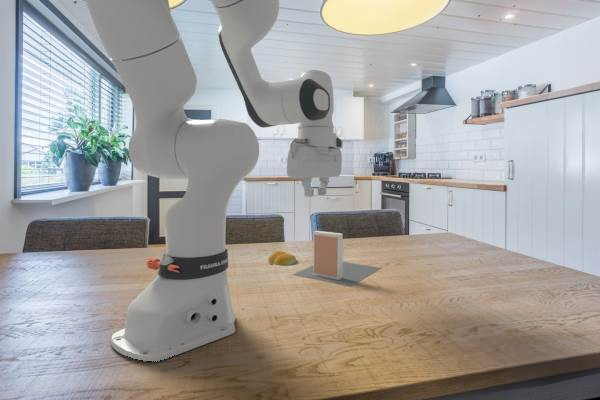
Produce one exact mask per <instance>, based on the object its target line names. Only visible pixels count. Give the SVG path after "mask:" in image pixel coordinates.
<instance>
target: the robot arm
mask: <svg viewBox="0 0 600 400" xmlns="http://www.w3.org/2000/svg"><path fill="white" fill-rule="evenodd" d="M85 1H86V5H87V8H88V11H89V14H90V16H91V19H92V21H93V24H94V27H95V29H96V32H97V33H98V37H99V38H100V41H101V43H102V45H103V47H104V49H105V51H106V53H107V55H108V58H110V60H111V63H112V64H113V67H114V69H115V70H116V72H117V75H118V76H119V78H120V80H121V82H122V84H123V86H124V88H125V91H126V92H127V94H128V96H129V99H130V101H131V103H132V106H133V107H132V108H133V109H134V110H133V111H134V114H135V124H136V125H135V129H134V131H133V132H132V133H131V136H130V139H129V140H128V141H129V142H128V156H129V159H130V162H131V163H132V165H133V167H134V168H135V169H136V170H137V172H139V173H141V174H142V175H146V176H149V177H154V178H158V179H162V180H163V179H164V180H187V188H186V191H185V193H184V195H183V197H182V198H181V199H179V200H178V201H176V202H175V203H172V205H171V206H169V207H168V209H167V210H166V212H165V214H164V215H165V216H164V226H165V227H164V230H165V232H164V233H165V252H164V254H163V257H162V259H160V258H155V257H149V258H148V259H147V260H146V262H145V265H146V267H147V269H150V270H154V271H156V270H157V274H158V275H157V276H156V277H155V278H154V279H153V280H152V281H151V282H150V283H149V284H148V285H147V286H146V287H145V288H144V289H143V291H141V292H140V293H139V294H138V296H136V297H135V298H134V299H133V300H132V301H131V302H130V303H129V305H128V307H127V311H126V315H125V322H124V328H122V329H120V330H118V331H116V332H114V333H113V334H112V335H111V338H110V344H111V347H112V348H113V349H114V350H115V351H116V352H117V353H119V354H121V355H123V356H124V357H127V356H128V357H127V358H129V357H131V358H130V359H132V358H133V359H132V360H135V359H138V360H137V361H139V360H143V361H142V362H146V361H152V363H158V362H161V361H160V360H162V361H164V359H165V360H167V359H170V358H172V356H173V357H175V356H177V355H180V354H182V353H186V352H188V351H190V350H194V349H197V348H199V347H201V346H204V345H208V344H209V343H211V342H215V341H217V340H220V339H223V338H225V337H228V336H230V335H233V334H235V332H236V328H235V321H236V319H237V318H236V315H235V311H234V309H233V305H232V301H231V300H232V299H231V295H230V294H231V293H230V289H229V283H228V272H227V269H228V268H229V252H228V248H226V221H227V213H228V211H227V210H228V207H229V206H228V205H229V203H230V201H231V197H232V195H233V193H234V191H235V189H236V188H237V186H238V185H239V183H241V181H242V180H244V178H245V177H247V176H249V175H250V173H252V171H253V170H254V169H255V167H256V165H257V163H258V160H259V156H260V144H259V140H258V137H257V135H256V133H255V131H254V130H253V129H252V127H251V126H250V125H249V124H248V123H246V122H241V121H236V120H232V119H226V118H215V119H195V120H192V119H189V117H188V116H187V114H186V113H185V109H184V106H185V105H186V104H187V103H188V102H190V100H191V99H192V97H193V96H194V95H195V92H196V89H197V83H198V80H197V75H196V73H195V70H194V66H193V65H192V62H191V59H190V56H189V54H188V51H187V50H186V47H185V45H184V42H183V39H182V37H181V36H182V35H180V32H179V29H178V27H177V25H176V22H175V20H174V18H173V16H172V14H171V12H172V11H171V7H170V4H169V3H170V2H169V0H85ZM210 3H212V6H213V8H215V11H216V13H217V16H218V18H219V22H220V26H219V29H218V41H219V44H220V48H221V51H222V53H223V55H224V58H225V61H226V63H227V65H228V67H229V69H230V70H231V73H232V75H233V77H234V81H235V82H236V84H237V87H238V89H239V91H240V94H241V95H242V97H243V101H244V105H245V108H246V112H247V114H248V116H249V118H250V119H251V121H252V122H253V123H254V124H255V125H256V126H257V127H260V128H264V129H265V128H271V127H276V126H282V125H283V126H285V125H296V124H298V126H297V137H295V138H293V140H292V141H291V142H290V145H289V150H288V152H287V162H286V174H287V177H288V179H300V180H301V184H302V187H303V189H304V196H305V197H308V198H309V197H314V195H315V194H314V192H315V189H314V188H313V187H312V184H311V183H312V180H313V178H319V182H320V184H319V187H318V188H317V195H318V196H326V195H327V188H328V186H329V182H330V178H335V177H336V178H337V177H340V175H341V172H342V165H343V163H342V162H343V161H342V160H343V159H342V158H343V157H342V150H341V149H343V147H344V145H343V144H344V143H343V140H342V139H341V138H340V137H339V136H338V135H337V134H336V133H335V131H334V122H333V114H334V112H335V101H334V89H333V82H332V78H331V76H330V74H328V73H327V72H324V71H321V70H317V69H313V70H306V71H304V72H303V73H302V74H301V76H300V77H299V78H295V79H289V80H284V81H277V82H269V81H265V80H264V79H263V78H262V76H261V74H260V71H259V68H258V65H257V63H256V60H255V58H254V55H253V52H252V48H253V47H255V45H257V44H258V43H260V41H262V40H263V39H264V38H265V37H266V36H267V35H268V34H269V32H271V30H272V28H273V27H274V26H275V24H276V22H277V19H278V16H279V11H280V0H210ZM174 355H175V356H174ZM169 357H170V358H169ZM153 361H154V362H153ZM155 361H156V362H155ZM157 361H158V362H157Z"/></svg>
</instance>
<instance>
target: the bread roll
mask: <svg viewBox="0 0 600 400" xmlns="http://www.w3.org/2000/svg"><path fill="white" fill-rule="evenodd" d="M267 261H268V263H269V265H271V266H273V265H276V266H290V265H293V264H296V263H297V258H296V256H295V254H290V253H288V252H286V251H282V250H278V251H274V252H273V253H271V254H270V256H269V257H268V259H267Z"/></svg>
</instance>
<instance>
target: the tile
mask: <svg viewBox="0 0 600 400" xmlns="http://www.w3.org/2000/svg"><path fill="white" fill-rule="evenodd" d="M343 235H344V234H343V233H340V232H332V231H323V230H315V231H312V266H313V275H317V276H322V277H327V278H332V279H337V280H339V279H341V278H342V266H343V262H344V261H343V256H344V255H343V250H344V249H343V245H344V244H343V241H344V240H343V238H344V237H343Z"/></svg>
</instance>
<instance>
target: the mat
mask: <svg viewBox="0 0 600 400" xmlns="http://www.w3.org/2000/svg"><path fill="white" fill-rule="evenodd" d="M379 270H382V267H378V266H372V265H365V264H360V263H354V262H345V261H343V266H342V278H341V279H339V280H337V279H332V278H327V277H322V276H317V275H313V265H312V266H309V267H307V268H305V269H302V270H300V271H297V272H295V273H293V274H291V275H292V276H297V277H301V278H307V279H312V280H316V281H321V282H326V283H327V282H328V283H330V284H331V283H332V284H335V285H342V286H345V287H353V286H354V285H356V284H357V283H359V282H361V281H363V280H364V279H366V278H368V277H369V276H372V275H373V274H374V273H377V272H379Z"/></svg>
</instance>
